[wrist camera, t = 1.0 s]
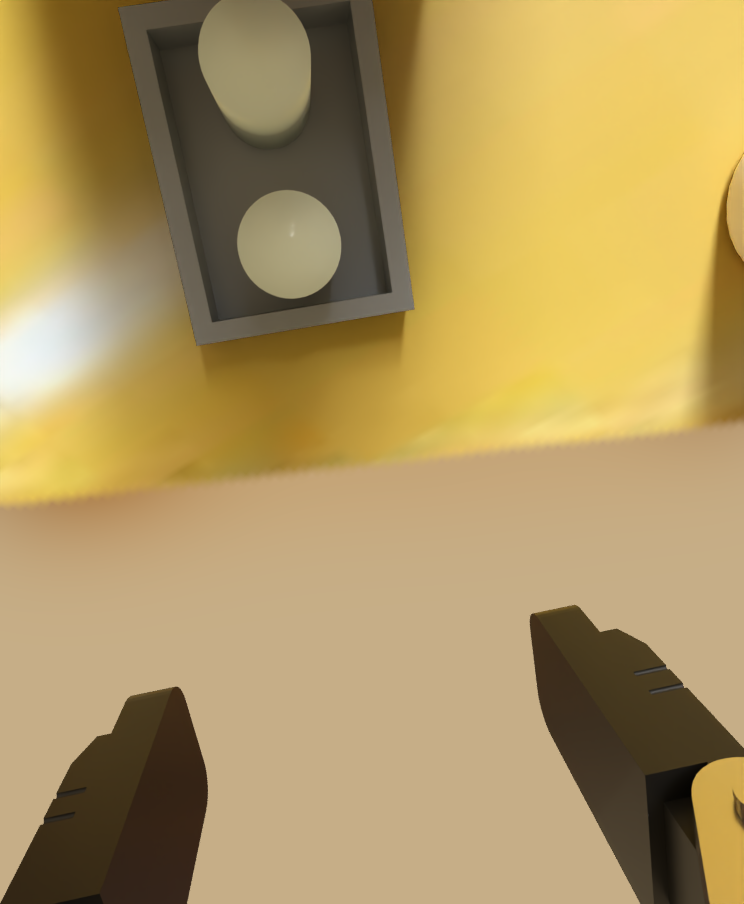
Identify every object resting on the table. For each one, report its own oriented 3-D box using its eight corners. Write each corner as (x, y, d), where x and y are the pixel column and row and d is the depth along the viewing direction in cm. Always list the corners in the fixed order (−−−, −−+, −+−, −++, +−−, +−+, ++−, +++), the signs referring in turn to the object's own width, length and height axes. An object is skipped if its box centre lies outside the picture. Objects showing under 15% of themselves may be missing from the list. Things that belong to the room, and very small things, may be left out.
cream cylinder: (210, 56, 24) (186, -2, 20) (301, 43, 24) (299, -17, 20) (230, 155, 25) (211, 123, 20) (317, 142, 25) (319, 108, 21)
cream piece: (242, 214, 26) (227, 198, 21) (328, 201, 26) (331, 182, 21) (259, 302, 27) (248, 305, 22) (342, 288, 27) (348, 290, 22)
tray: (139, 37, 25) (117, 7, 22) (362, 5, 25) (368, -28, 22) (207, 340, 28) (196, 345, 25) (404, 307, 28) (414, 309, 26)
